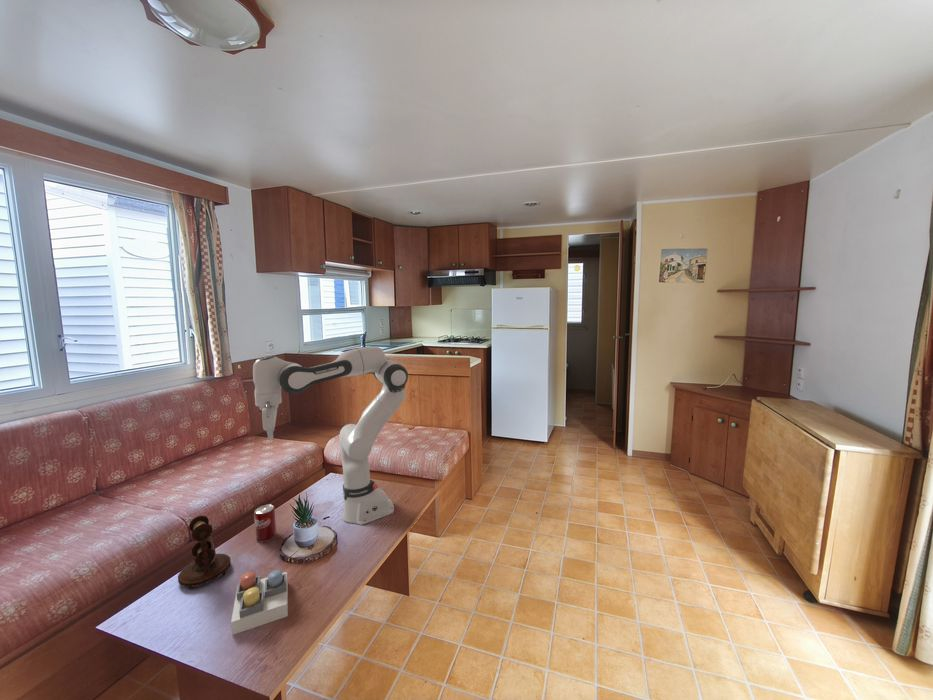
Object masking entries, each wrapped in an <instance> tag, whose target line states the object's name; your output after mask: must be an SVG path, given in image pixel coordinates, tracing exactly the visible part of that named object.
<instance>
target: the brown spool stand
mask: <svg viewBox="0 0 933 700" xmlns="http://www.w3.org/2000/svg"><path fill="white" fill-rule="evenodd" d="M188 529H189V530H190V532H192V533H191V537H192V539H193V541H196V543H195V544H194V545H193V547H192V548H191V555H192V556H193V557H194V560H193V561H192V562H190V563H188V564H187V565H186V566H184V567H183V568H182V569H181V570H180V572H179V573H178V575H177V581H178V584H179V585H180V586H183V587H187V588H188V589H189V590H192V589H193V587H197V586H202V585H205V584H208V583H210V582H212V581H215V580H217V578H220V576H222V575H223V576H224V575H226V573H227V570H228V569H229V568H230V566H231V563H232V562H231V557H230V556H229V555H228V554H225V553H216V547H215V543H214V538H213V535H212V533H213V526H212V525H211V524H210V520H209V518H208V517H207V516H206V515H199V516H196V517H194V518H193V519H192V520H191V521H190V522H189V525H188ZM208 538H210V541H209V540H208Z"/></svg>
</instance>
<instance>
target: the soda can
mask: <svg viewBox="0 0 933 700" xmlns="http://www.w3.org/2000/svg"><path fill="white" fill-rule="evenodd" d="M253 517H254V518H253V520H254V528H255V529H254V530H255V540H256V542H258V543H266V542H269V541H271V540H273V539H274V538H275V537H276V536H277V534H278V533H277V522H276V521H277V520H276V519H277V518H276V508H275V506H274V505H272V504H265V505H261V506H259V507H257V508H256V509H255V510H254V511H253Z"/></svg>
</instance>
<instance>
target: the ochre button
mask: <svg viewBox="0 0 933 700" xmlns="http://www.w3.org/2000/svg"><path fill="white" fill-rule="evenodd" d="M243 598H244V606H245V607H252V606H254V605H256V604H257V603H258V602H259V601H260V594H259V588H257V587H253V588H250V589H248V590H246V591H245V592H244V594H243Z"/></svg>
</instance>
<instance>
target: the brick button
mask: <svg viewBox="0 0 933 700" xmlns="http://www.w3.org/2000/svg"><path fill="white" fill-rule="evenodd" d="M256 576H257V575H256V572H254V571H247V572H245V573H243V575H241V576H240V577H239V578H240V580H239V581H241V589H242V590H248V589H250V588H253V587H254V586H255V585H256Z"/></svg>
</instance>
